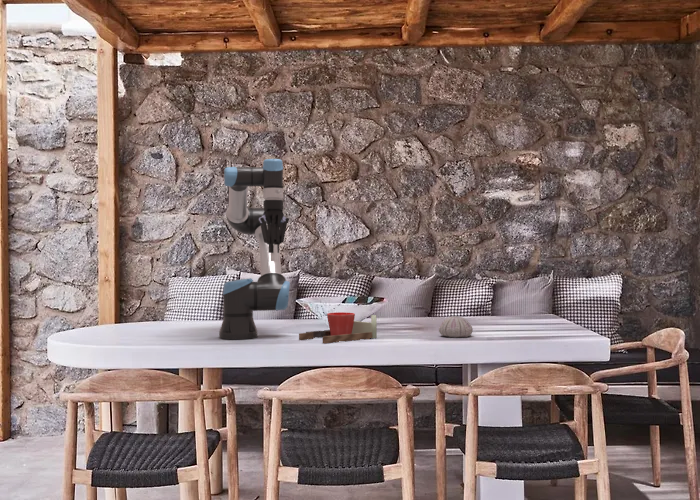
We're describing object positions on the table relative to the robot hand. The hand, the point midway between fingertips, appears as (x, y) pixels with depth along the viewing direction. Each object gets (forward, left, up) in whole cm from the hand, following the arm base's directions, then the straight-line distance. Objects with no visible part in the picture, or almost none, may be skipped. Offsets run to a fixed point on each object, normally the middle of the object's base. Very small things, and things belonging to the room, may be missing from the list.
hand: (274, 261), depth 301 cm
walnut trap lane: (-1, +24, -30) cm, 39 cm away
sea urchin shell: (+6, +71, -31) cm, 78 cm away
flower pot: (-3, +27, -31) cm, 41 cm away
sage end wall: (-5, +35, -30) cm, 47 cm away
